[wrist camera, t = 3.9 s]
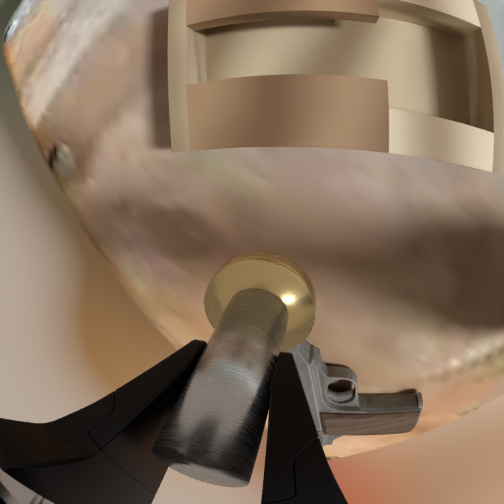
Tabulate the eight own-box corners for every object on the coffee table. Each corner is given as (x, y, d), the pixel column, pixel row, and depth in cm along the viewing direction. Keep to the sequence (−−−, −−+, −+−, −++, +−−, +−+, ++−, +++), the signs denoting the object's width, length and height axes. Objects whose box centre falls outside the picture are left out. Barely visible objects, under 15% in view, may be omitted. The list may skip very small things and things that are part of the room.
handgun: (446, 312, 13) (261, 339, 17) (414, 436, 18) (298, 449, 22) (431, 287, 16) (270, 312, 20) (411, 413, 21) (302, 426, 25)
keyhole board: (464, 19, 7) (486, 5, 4) (477, 166, 11) (504, 175, 9) (192, 3, 11) (170, -15, 8) (196, 147, 15) (171, 152, 12)
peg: (319, 255, 10) (305, 456, 3) (310, 343, 12) (286, 503, 5) (207, 248, 11) (84, 393, 4) (218, 332, 13) (149, 469, 6)
